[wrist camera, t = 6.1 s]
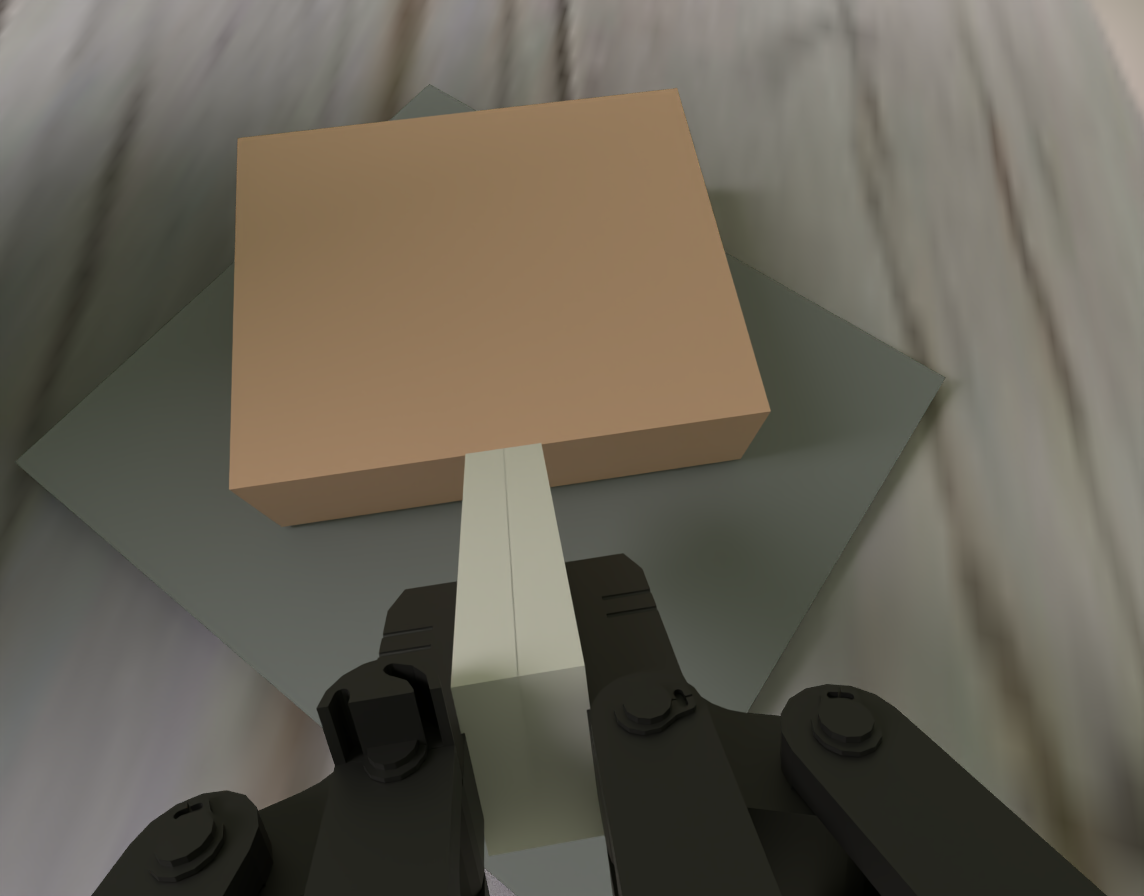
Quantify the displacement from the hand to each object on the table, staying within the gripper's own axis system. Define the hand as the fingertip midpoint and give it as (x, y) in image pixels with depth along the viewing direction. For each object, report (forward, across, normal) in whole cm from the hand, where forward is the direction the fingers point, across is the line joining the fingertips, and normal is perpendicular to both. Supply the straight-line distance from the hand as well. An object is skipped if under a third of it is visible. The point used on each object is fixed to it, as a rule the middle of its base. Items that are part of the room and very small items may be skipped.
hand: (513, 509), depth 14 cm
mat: (+6, 0, 0) cm, 6 cm away
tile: (+3, 0, 0) cm, 3 cm away
